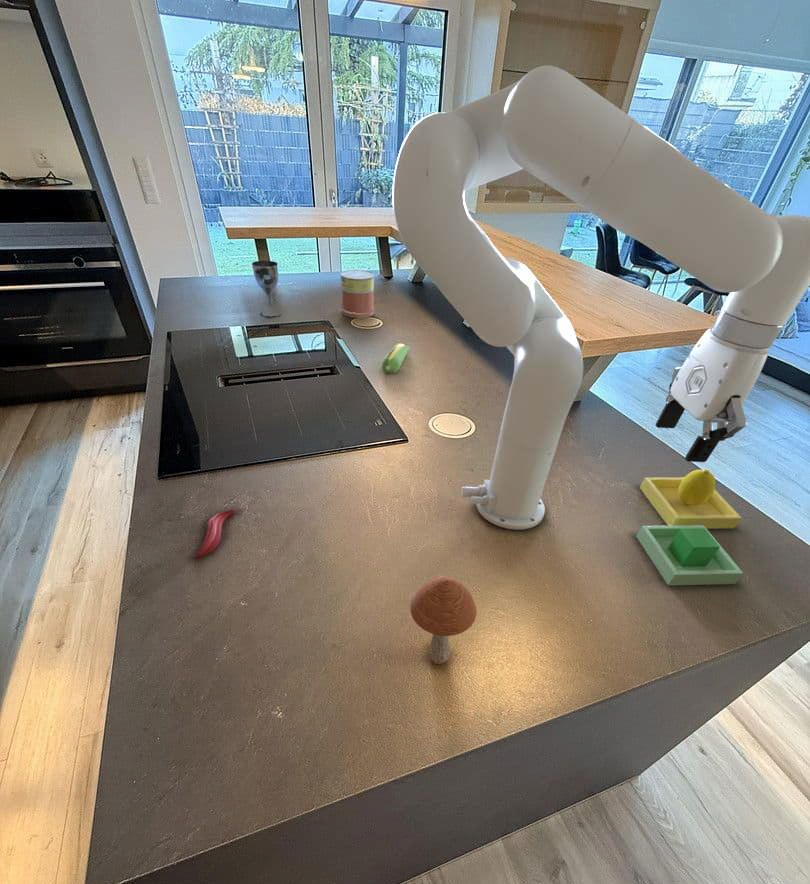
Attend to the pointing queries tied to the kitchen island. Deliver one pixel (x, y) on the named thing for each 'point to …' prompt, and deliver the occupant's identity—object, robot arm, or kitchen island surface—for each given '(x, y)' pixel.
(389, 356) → the edible corn
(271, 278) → the wine glass
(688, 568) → the green tray
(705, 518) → the yellow tray
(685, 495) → the lemon
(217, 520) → the cayenne pepper
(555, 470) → the kitchen island surface
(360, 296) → the canned food
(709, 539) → the green cube
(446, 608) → the mushroom
